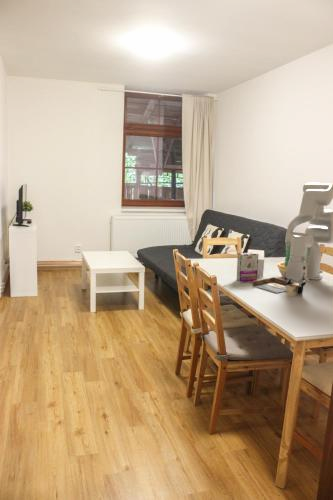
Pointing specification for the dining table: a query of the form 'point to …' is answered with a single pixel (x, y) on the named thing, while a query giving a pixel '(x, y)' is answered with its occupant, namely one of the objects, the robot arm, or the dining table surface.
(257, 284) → the corner arena
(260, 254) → the stack of papers
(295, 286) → the maple block
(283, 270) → the potted cactus
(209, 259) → the dining table surface
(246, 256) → the candy bar box
